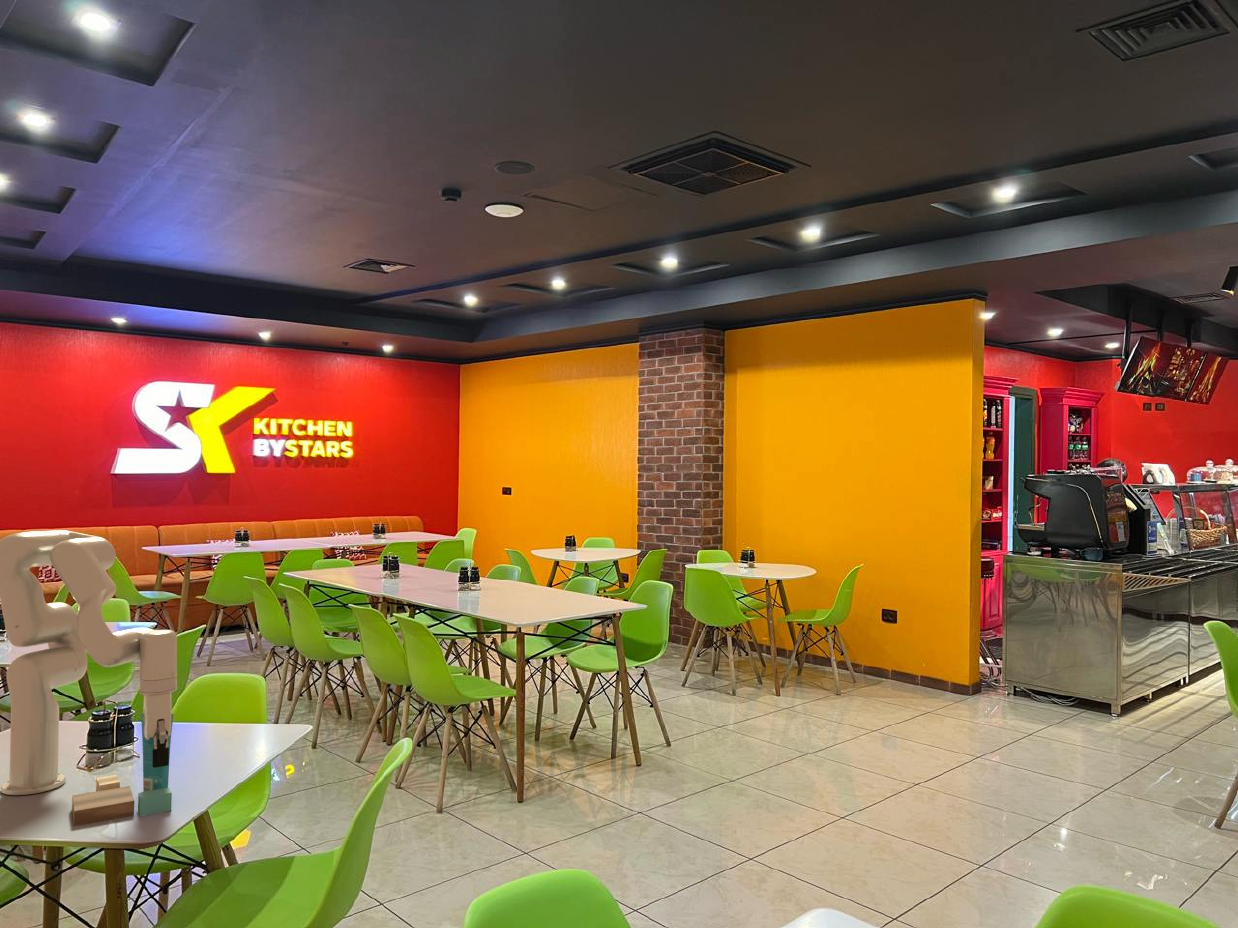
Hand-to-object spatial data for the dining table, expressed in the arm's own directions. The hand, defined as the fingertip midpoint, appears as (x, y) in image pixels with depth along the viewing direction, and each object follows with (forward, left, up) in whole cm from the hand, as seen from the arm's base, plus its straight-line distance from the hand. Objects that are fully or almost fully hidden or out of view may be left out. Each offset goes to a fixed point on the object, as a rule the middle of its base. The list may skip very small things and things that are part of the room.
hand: (158, 760), depth 197 cm
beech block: (-7, -9, -9) cm, 15 cm away
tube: (0, 0, -9) cm, 9 cm away
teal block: (+8, -1, -9) cm, 12 cm away
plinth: (+3, -11, -9) cm, 14 cm away
